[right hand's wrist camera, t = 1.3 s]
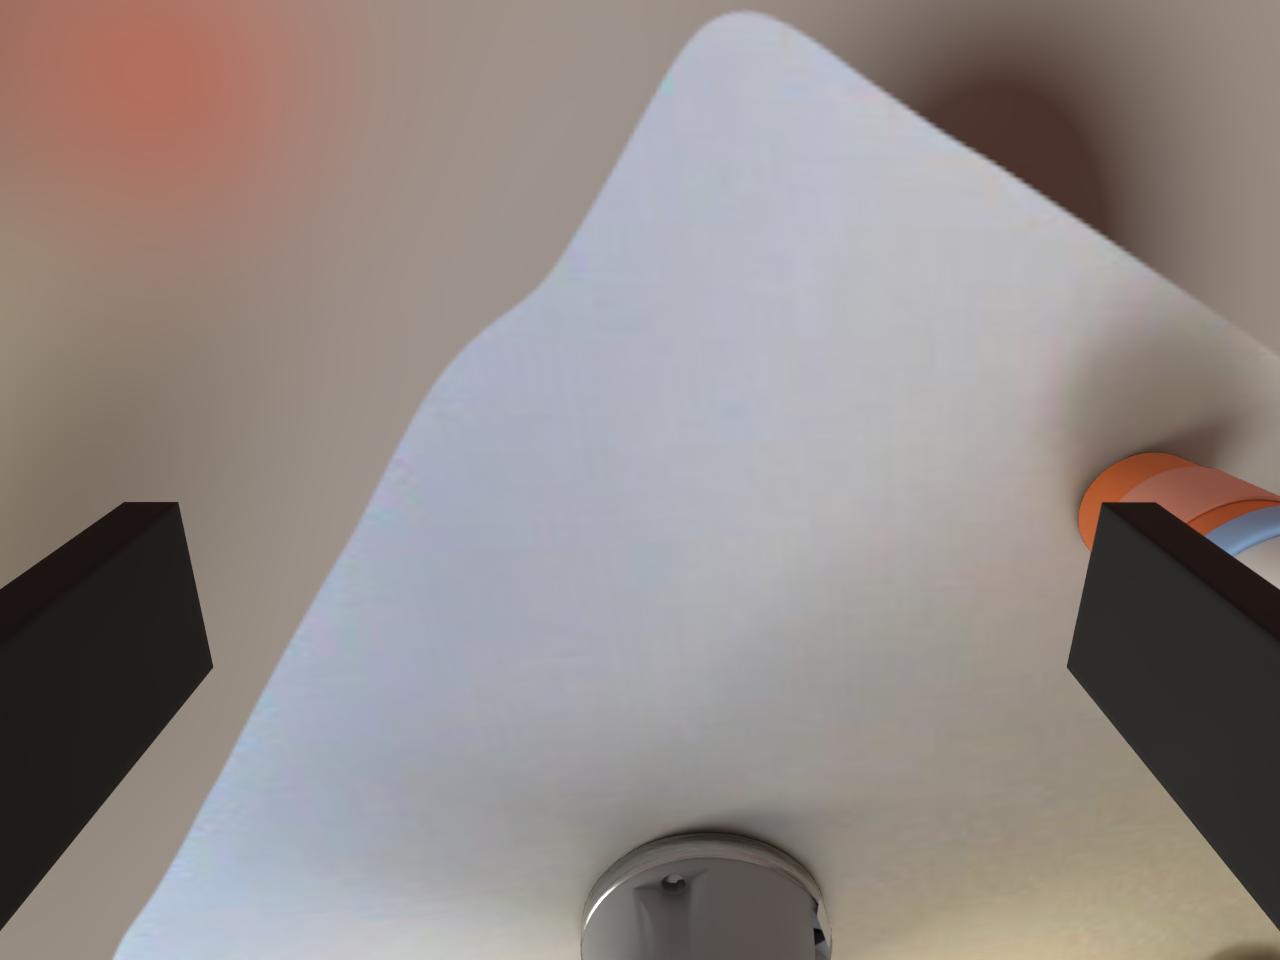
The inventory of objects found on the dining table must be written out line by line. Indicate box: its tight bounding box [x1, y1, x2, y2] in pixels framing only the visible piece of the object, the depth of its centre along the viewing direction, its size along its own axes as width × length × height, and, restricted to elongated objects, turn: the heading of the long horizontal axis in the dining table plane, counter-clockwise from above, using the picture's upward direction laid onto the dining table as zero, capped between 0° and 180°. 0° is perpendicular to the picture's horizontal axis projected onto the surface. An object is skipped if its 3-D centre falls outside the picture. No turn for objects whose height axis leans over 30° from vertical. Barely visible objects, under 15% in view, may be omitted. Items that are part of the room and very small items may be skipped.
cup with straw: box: [1078, 453, 1280, 589], centre depth 35 cm, size 9×9×18 cm
